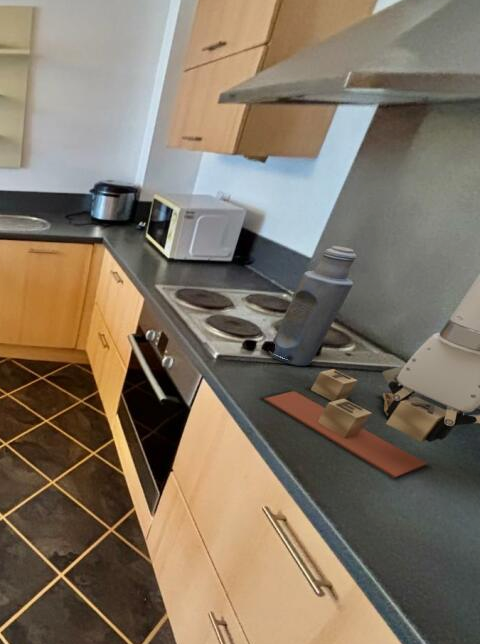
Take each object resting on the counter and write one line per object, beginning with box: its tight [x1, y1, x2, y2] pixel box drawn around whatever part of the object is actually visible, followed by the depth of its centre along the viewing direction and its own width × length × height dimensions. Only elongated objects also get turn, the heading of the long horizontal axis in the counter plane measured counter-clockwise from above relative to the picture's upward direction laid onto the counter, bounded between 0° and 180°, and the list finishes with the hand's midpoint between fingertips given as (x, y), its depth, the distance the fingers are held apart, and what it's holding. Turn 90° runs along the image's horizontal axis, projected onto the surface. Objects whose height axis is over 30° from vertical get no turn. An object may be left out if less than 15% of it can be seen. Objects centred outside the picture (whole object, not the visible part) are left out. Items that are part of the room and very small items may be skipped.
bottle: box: [268, 245, 358, 367], centre depth 104 cm, size 10×10×30 cm
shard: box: [382, 392, 412, 417], centre depth 92 cm, size 11×8×2 cm
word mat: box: [263, 390, 427, 479], centre depth 84 cm, size 24×10×1 cm, turn 22°
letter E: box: [318, 399, 373, 438], centre depth 82 cm, size 5×5×5 cm
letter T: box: [310, 368, 358, 402], centre depth 95 cm, size 5×5×5 cm
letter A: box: [385, 396, 447, 443], centre depth 72 cm, size 5×5×5 cm
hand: (411, 428), depth 73 cm, fingers closed on letter A, 5 cm apart
